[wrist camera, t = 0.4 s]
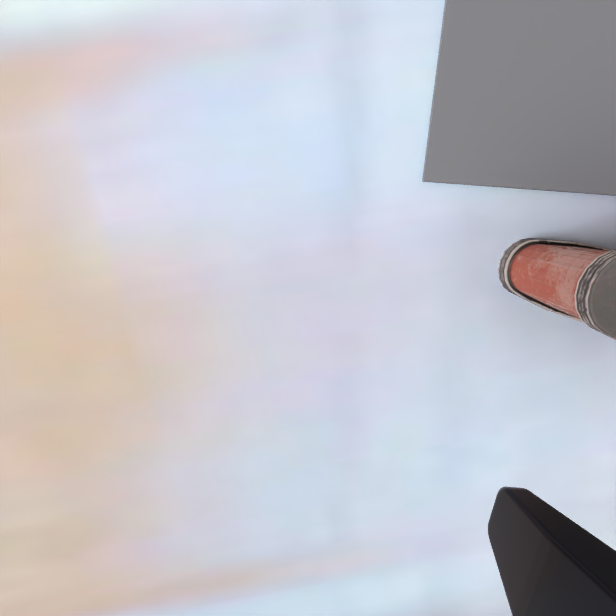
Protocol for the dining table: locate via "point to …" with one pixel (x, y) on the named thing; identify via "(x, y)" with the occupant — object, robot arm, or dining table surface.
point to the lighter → (564, 279)
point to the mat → (525, 96)
